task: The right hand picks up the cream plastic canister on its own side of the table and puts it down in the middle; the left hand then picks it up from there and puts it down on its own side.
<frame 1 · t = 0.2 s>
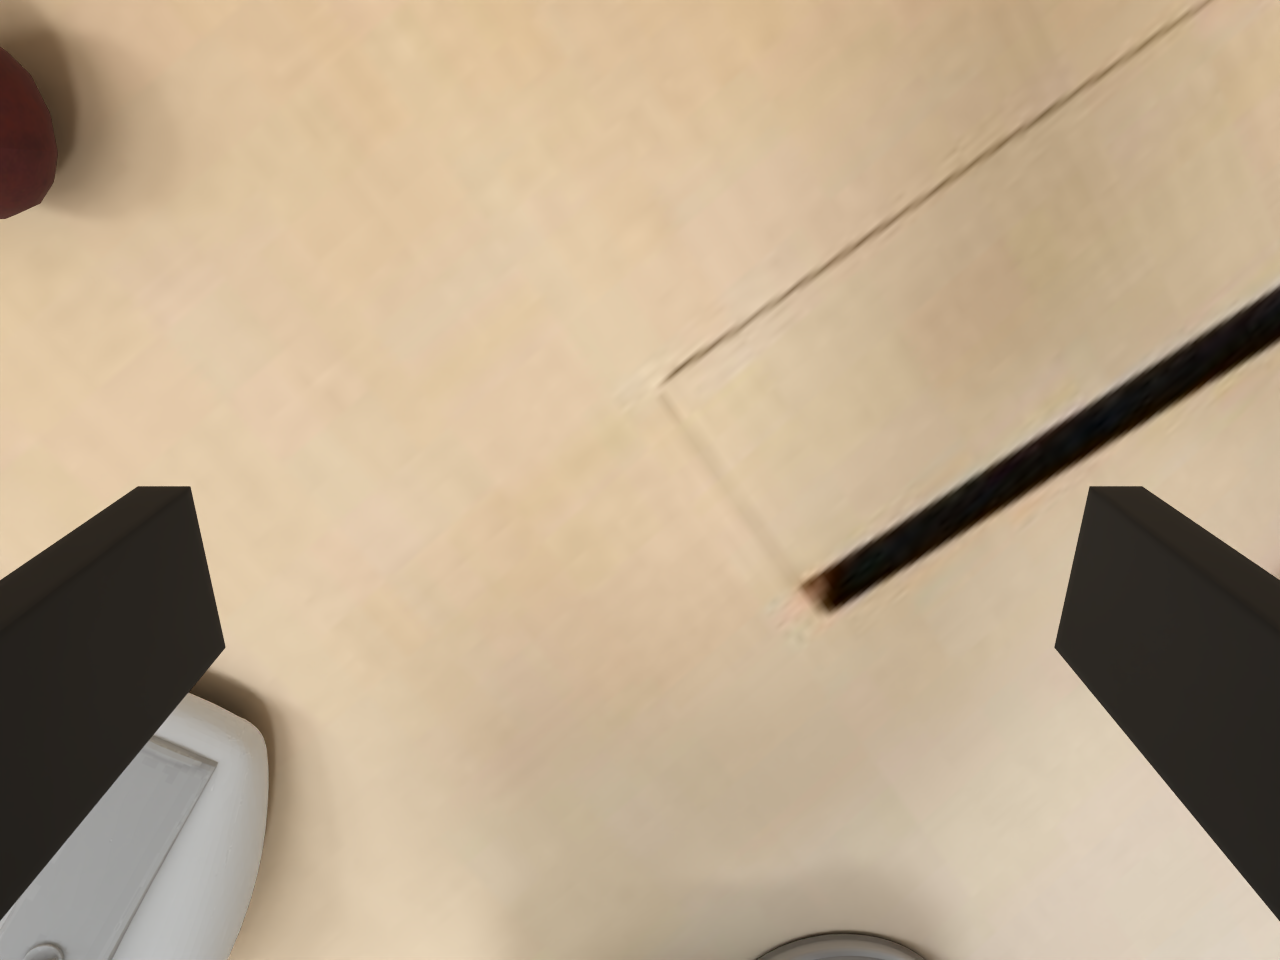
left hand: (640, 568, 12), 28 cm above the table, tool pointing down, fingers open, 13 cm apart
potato: (10, 124, 36), on the table
projector: (145, 817, 50), on the table
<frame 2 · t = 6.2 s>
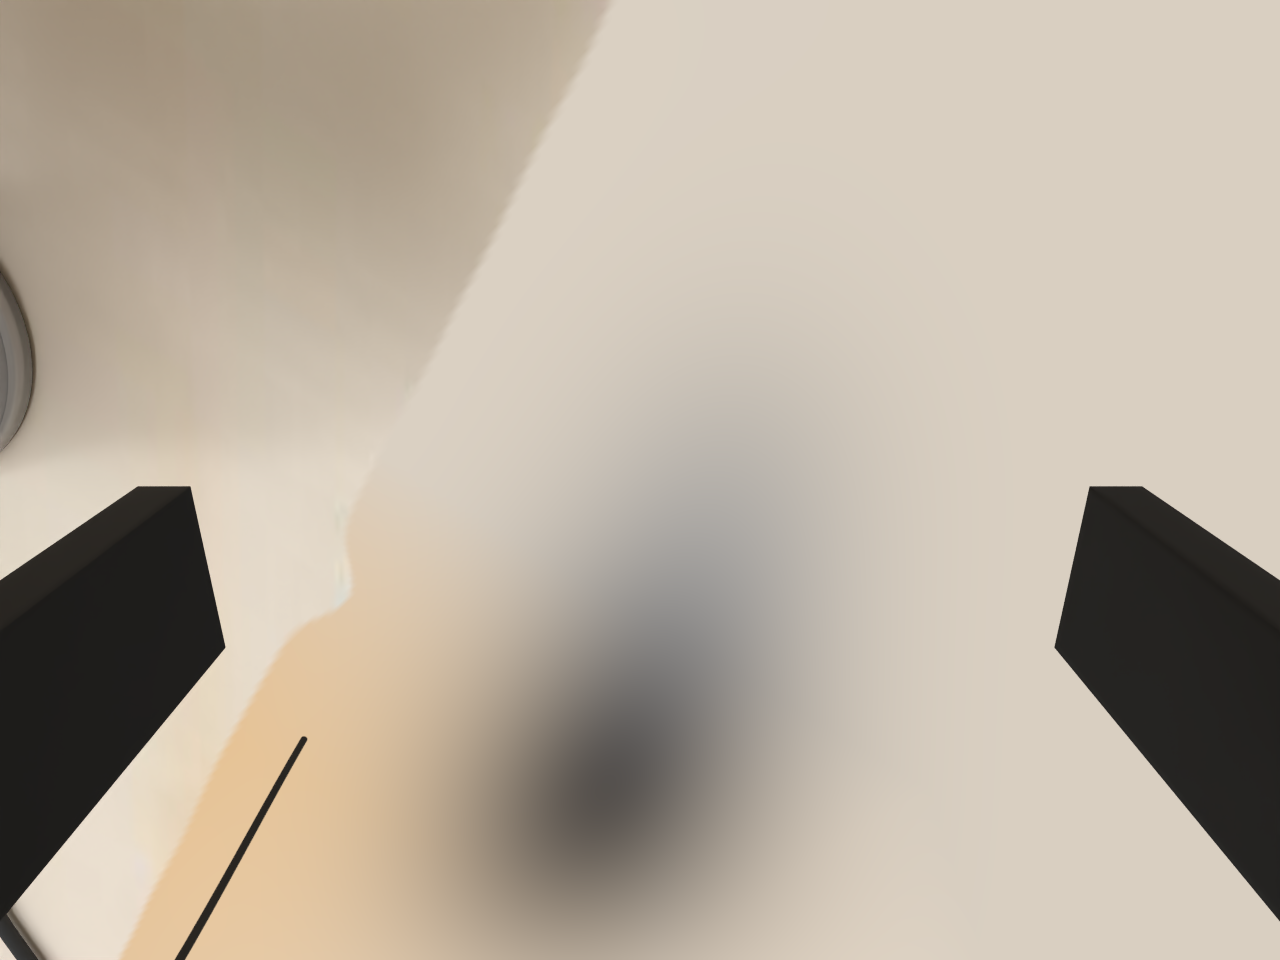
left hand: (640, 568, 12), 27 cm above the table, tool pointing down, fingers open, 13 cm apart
when the right hand's fingers open (5 cm above the table, at t = 17.1 s): canister drops 1 cm, on the table.
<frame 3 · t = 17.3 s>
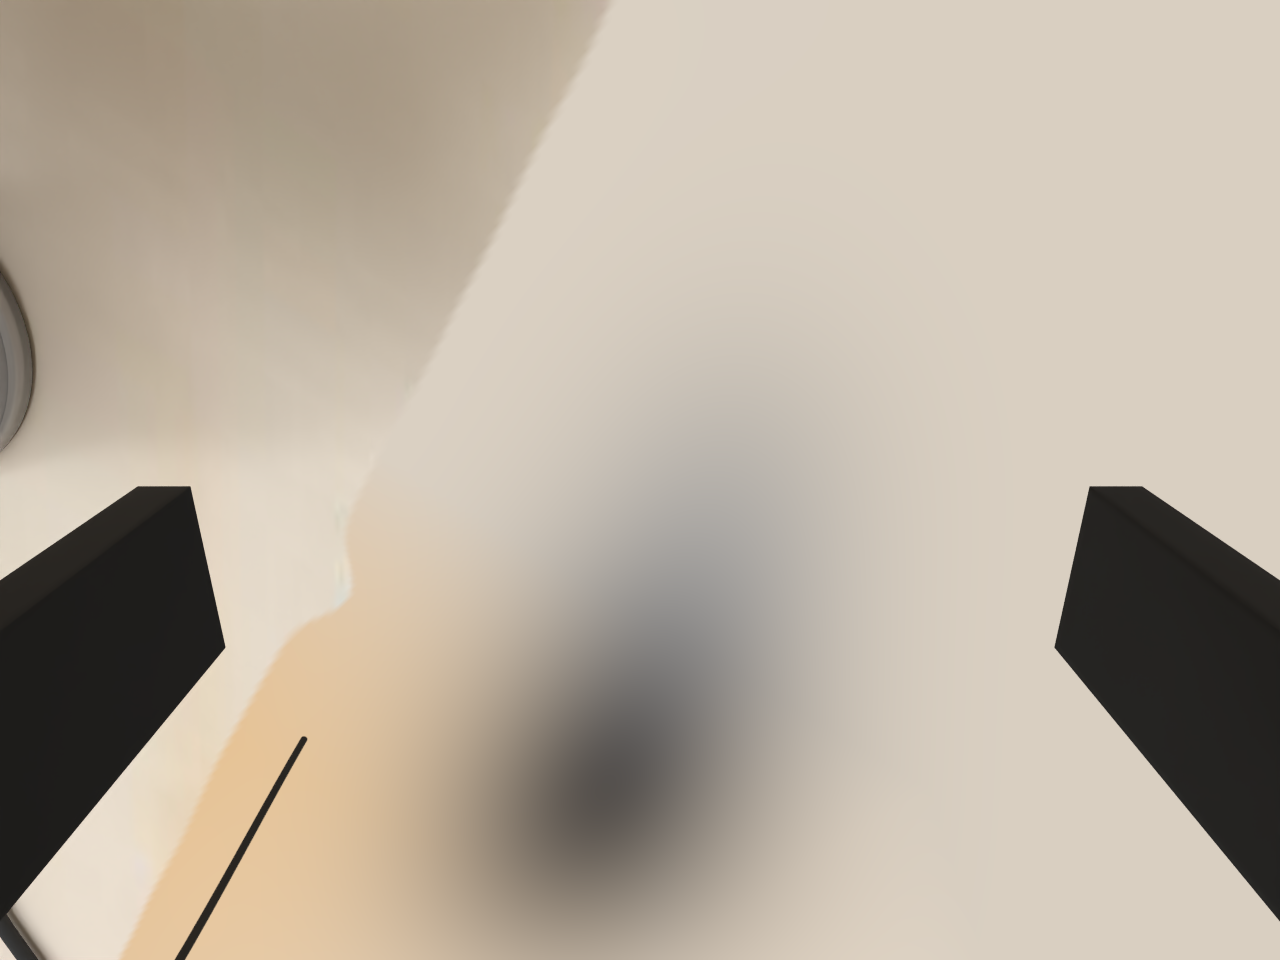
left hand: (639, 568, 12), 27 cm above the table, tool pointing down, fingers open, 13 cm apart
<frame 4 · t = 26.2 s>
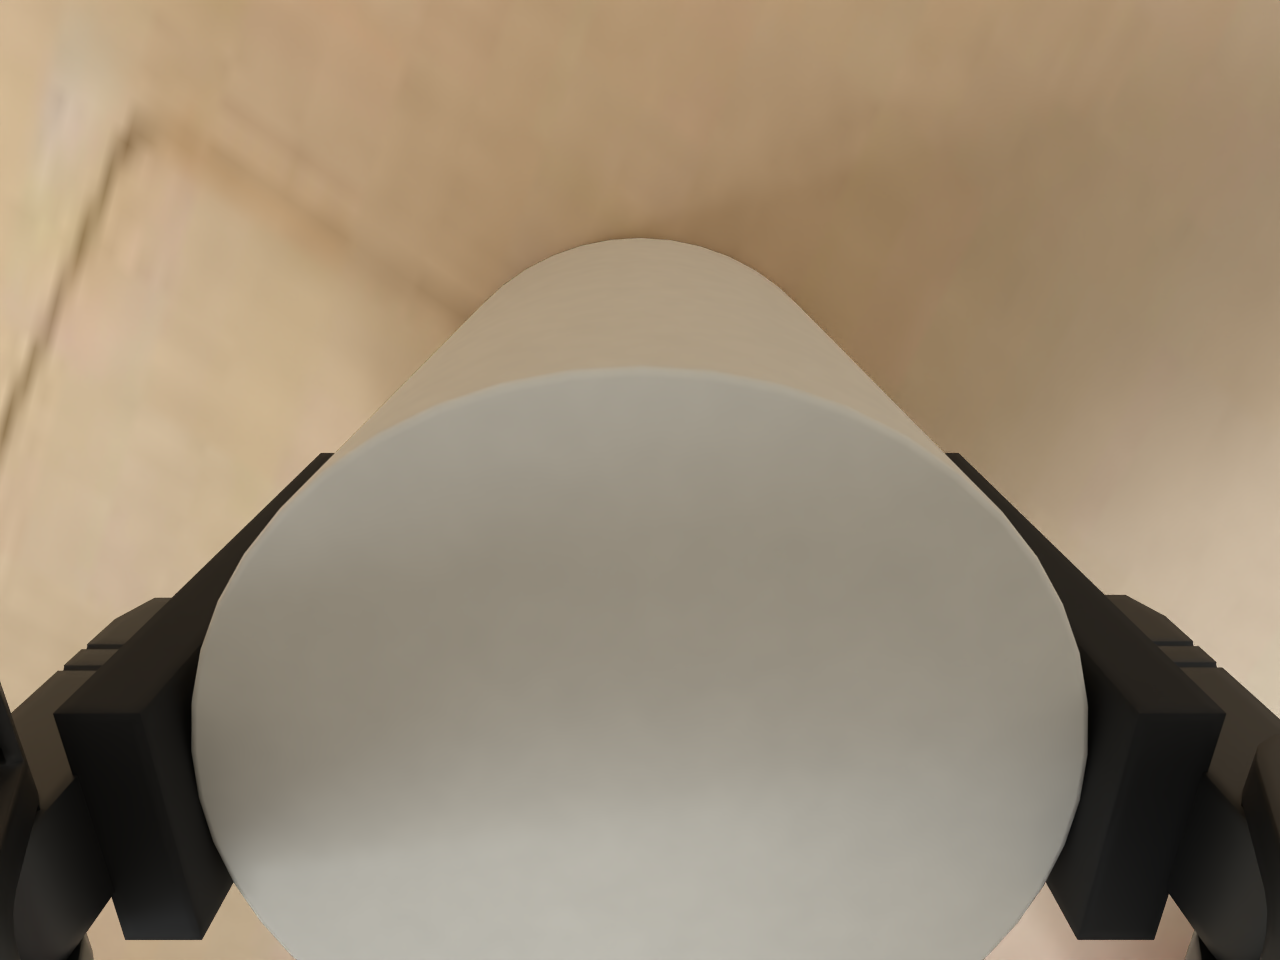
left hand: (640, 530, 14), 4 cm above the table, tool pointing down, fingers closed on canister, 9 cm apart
canister: (639, 454, 17), on the table, touching left hand
when the left hand's fingers open (5 cm above the table, at t = 31.9 s): canister drops 1 cm, on the table.
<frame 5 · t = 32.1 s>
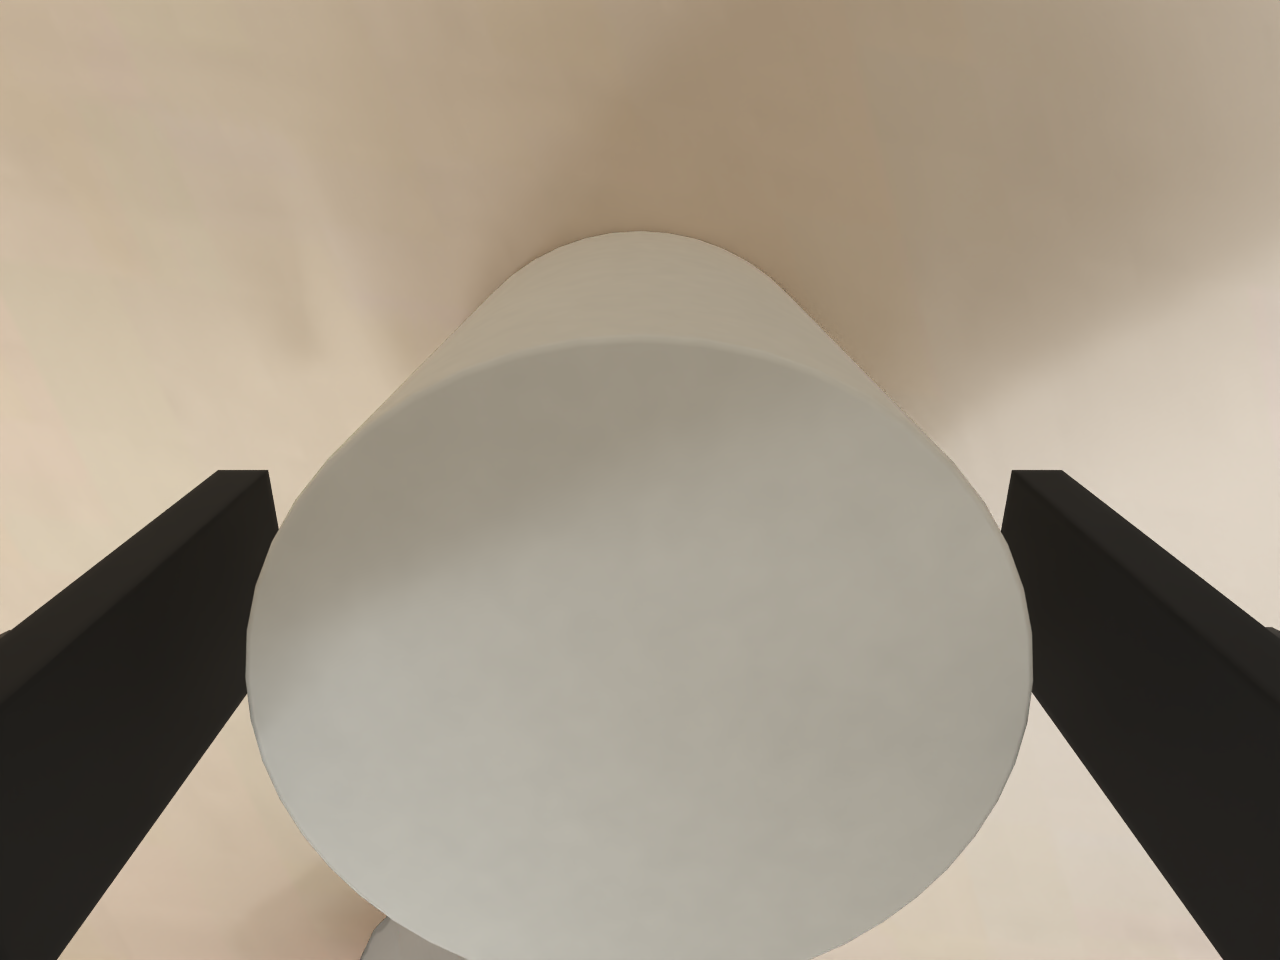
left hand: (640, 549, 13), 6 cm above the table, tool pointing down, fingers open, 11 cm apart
canister: (639, 435, 18), on the table
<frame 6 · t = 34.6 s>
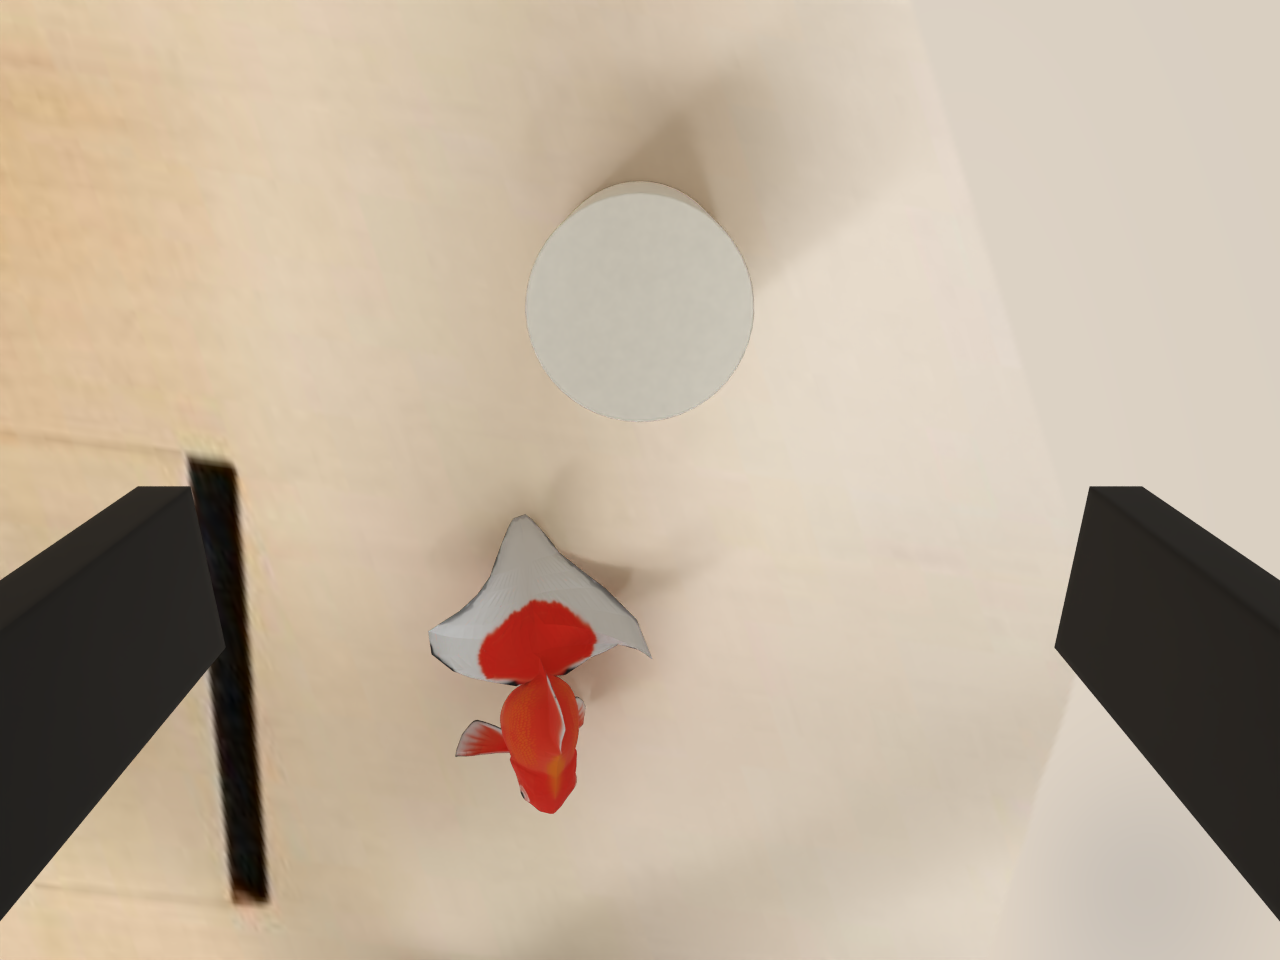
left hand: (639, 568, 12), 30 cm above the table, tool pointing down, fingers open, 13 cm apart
canister: (639, 275, 40), on the table
fish: (539, 624, 48), on the table
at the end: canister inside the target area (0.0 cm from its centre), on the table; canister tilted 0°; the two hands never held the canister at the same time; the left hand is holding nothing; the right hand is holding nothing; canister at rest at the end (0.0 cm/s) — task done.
